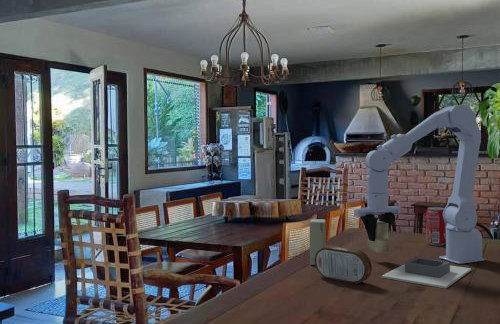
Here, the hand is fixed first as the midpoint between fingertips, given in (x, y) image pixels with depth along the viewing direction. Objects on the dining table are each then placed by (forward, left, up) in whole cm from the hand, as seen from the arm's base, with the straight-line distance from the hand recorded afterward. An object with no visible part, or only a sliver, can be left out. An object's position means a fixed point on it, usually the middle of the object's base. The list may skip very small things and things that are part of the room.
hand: (378, 240), depth 145 cm
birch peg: (0, 0, -3) cm, 3 cm away
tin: (+19, +12, -7) cm, 23 cm away
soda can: (-31, -12, -7) cm, 34 cm away
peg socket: (-4, +16, -6) cm, 18 cm away
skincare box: (+16, -6, -7) cm, 18 cm away
